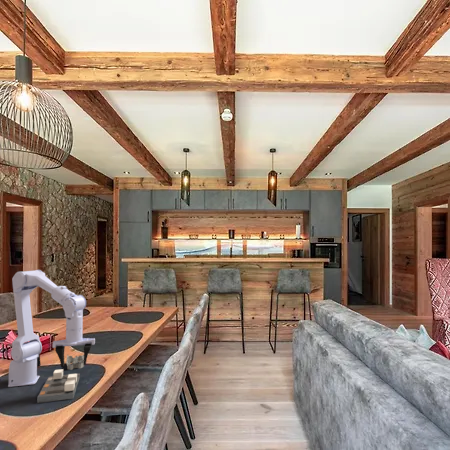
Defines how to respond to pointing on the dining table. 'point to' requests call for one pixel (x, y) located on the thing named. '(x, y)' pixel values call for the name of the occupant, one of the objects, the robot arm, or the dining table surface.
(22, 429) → the dining table surface
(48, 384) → the switch unit
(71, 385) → the cream small block
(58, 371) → the white small block
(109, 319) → the dining table surface
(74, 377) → the cream small block
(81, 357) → the egg carton
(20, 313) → the robot arm
